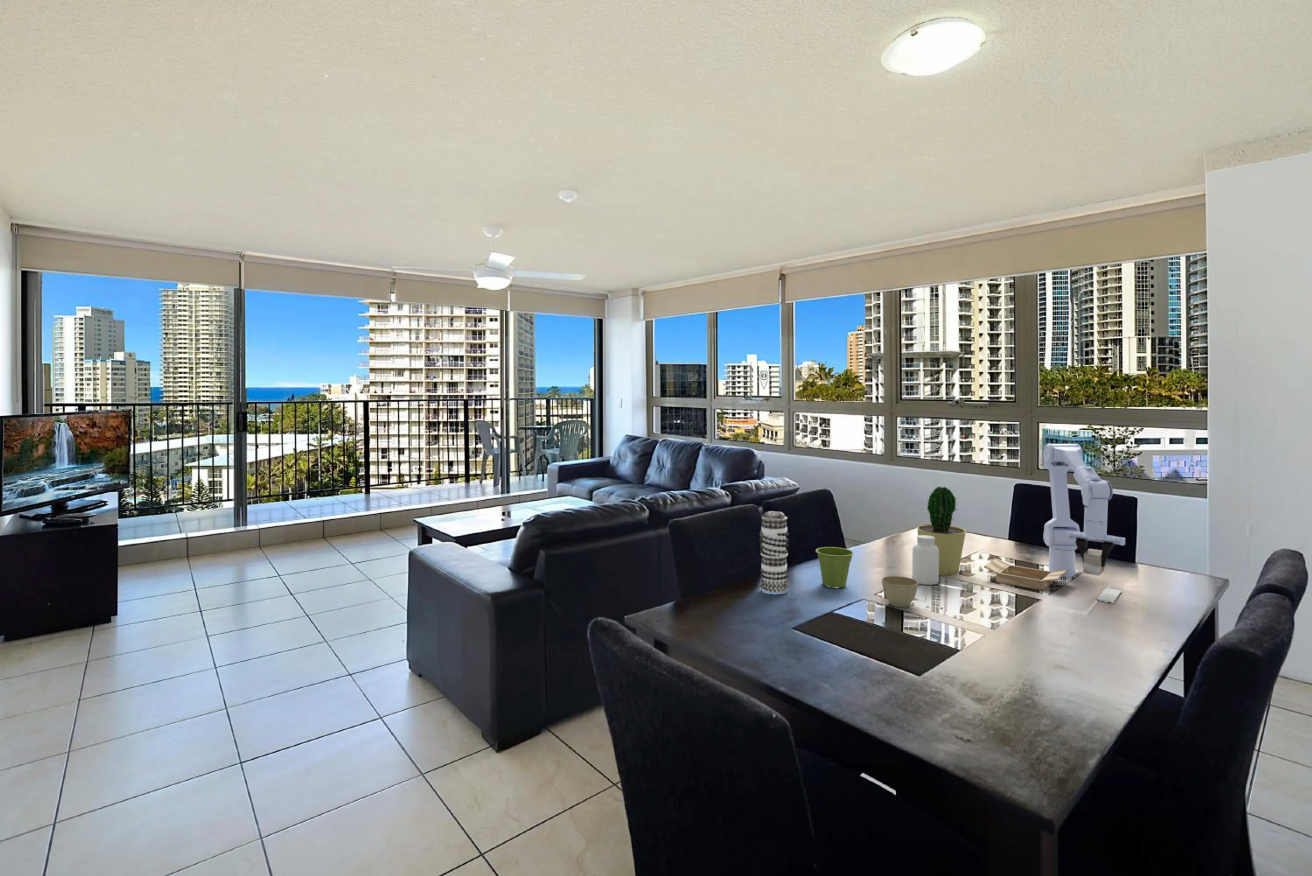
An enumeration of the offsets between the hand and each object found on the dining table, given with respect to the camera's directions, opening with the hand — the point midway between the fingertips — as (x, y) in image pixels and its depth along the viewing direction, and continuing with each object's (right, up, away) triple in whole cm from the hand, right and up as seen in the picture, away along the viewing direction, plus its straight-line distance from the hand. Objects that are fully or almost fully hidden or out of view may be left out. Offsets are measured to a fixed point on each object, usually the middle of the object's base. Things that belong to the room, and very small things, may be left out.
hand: (1093, 564), depth 189 cm
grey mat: (0, -9, +1) cm, 9 cm away
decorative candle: (-96, -10, +7) cm, 97 cm away
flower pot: (-62, -10, -7) cm, 63 cm away
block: (0, -2, 0) cm, 2 cm away
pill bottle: (-45, -9, +14) cm, 48 cm away
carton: (-14, -8, +12) cm, 20 cm away
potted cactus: (-35, -8, +26) cm, 44 cm away
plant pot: (-76, -9, +12) cm, 77 cm away
